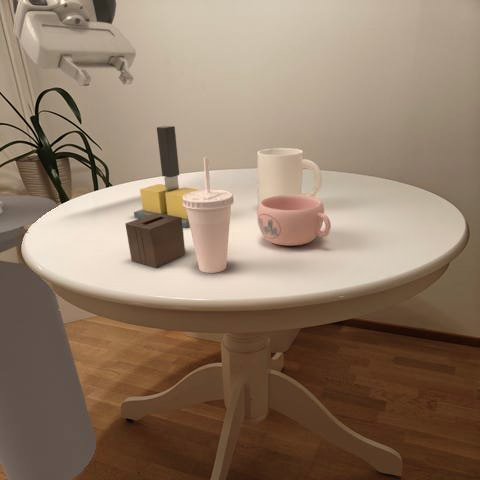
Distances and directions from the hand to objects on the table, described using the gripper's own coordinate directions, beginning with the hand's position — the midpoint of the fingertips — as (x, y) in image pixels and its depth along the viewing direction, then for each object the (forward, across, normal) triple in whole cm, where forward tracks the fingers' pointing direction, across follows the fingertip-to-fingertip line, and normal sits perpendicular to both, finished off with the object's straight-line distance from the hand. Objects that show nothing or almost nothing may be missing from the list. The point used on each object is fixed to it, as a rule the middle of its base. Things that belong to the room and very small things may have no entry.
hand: (108, 82), depth 74 cm
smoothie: (+40, +15, +8) cm, 43 cm away
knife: (+24, 0, -6) cm, 25 cm away
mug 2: (+43, 0, +11) cm, 44 cm away
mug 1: (+36, -16, +4) cm, 39 cm away
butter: (+24, 0, -7) cm, 25 cm away
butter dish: (+24, 0, -7) cm, 25 cm away
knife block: (+33, +16, +2) cm, 37 cm away
